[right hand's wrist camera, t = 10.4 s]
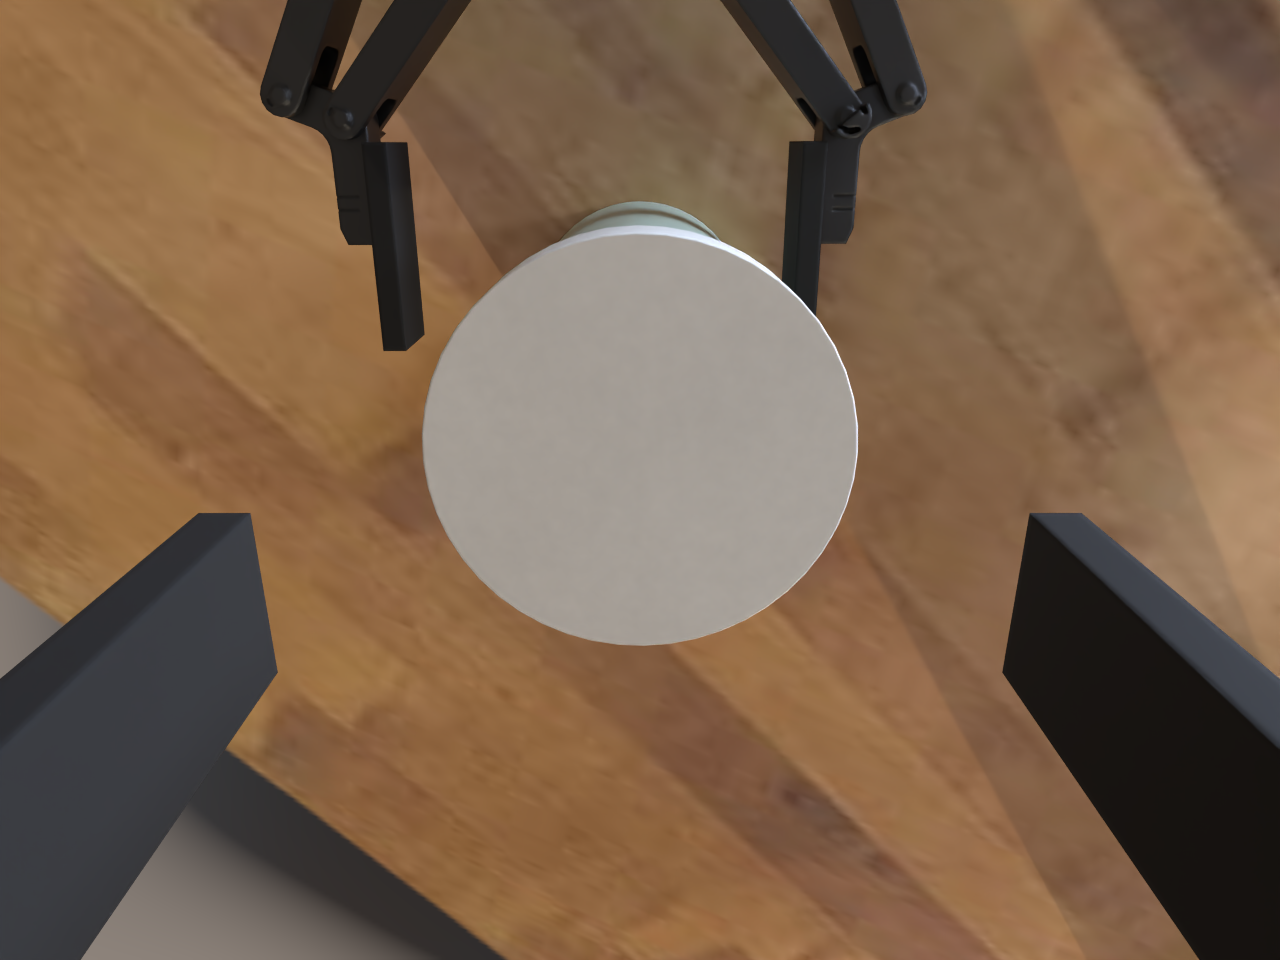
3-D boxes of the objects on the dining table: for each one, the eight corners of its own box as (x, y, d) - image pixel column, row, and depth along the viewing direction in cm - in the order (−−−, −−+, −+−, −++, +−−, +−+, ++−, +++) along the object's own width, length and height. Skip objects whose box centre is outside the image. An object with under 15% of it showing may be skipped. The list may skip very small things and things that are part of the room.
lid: (515, 648, 23) (506, 686, 21) (376, 295, 20) (352, 308, 18) (875, 556, 22) (894, 589, 20) (791, 169, 19) (806, 171, 17)
